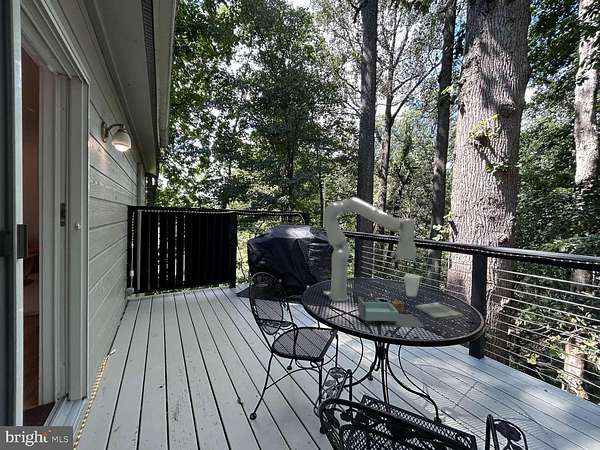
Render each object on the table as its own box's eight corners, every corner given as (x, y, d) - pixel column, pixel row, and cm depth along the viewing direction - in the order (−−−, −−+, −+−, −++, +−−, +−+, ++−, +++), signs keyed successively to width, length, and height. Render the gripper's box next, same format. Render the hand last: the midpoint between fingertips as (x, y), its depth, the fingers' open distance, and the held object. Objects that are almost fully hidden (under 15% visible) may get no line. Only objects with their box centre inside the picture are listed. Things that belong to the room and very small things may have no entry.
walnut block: (394, 312, 165) (394, 303, 164) (391, 309, 170) (391, 300, 169) (403, 312, 165) (403, 303, 164) (399, 309, 170) (400, 300, 169)
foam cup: (411, 298, 191) (412, 278, 190) (400, 293, 200) (401, 274, 199) (422, 296, 196) (423, 276, 195) (410, 292, 204) (412, 273, 203)
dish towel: (435, 320, 156) (436, 314, 156) (414, 308, 173) (414, 303, 173) (464, 318, 161) (465, 312, 160) (440, 306, 178) (441, 301, 178)
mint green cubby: (363, 324, 146) (363, 305, 145) (356, 314, 160) (357, 296, 159) (397, 325, 146) (399, 305, 145) (388, 314, 160) (389, 296, 159)
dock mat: (388, 326, 145) (388, 326, 145) (378, 314, 161) (378, 313, 161) (425, 327, 145) (425, 327, 145) (411, 314, 162) (411, 314, 162)
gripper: (390, 239, 173) (389, 268, 174) (422, 241, 166) (420, 271, 167) (392, 238, 180) (391, 266, 181) (423, 240, 172) (421, 269, 174)
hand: (405, 268), depth 174 cm, fingers open, 9 cm apart
